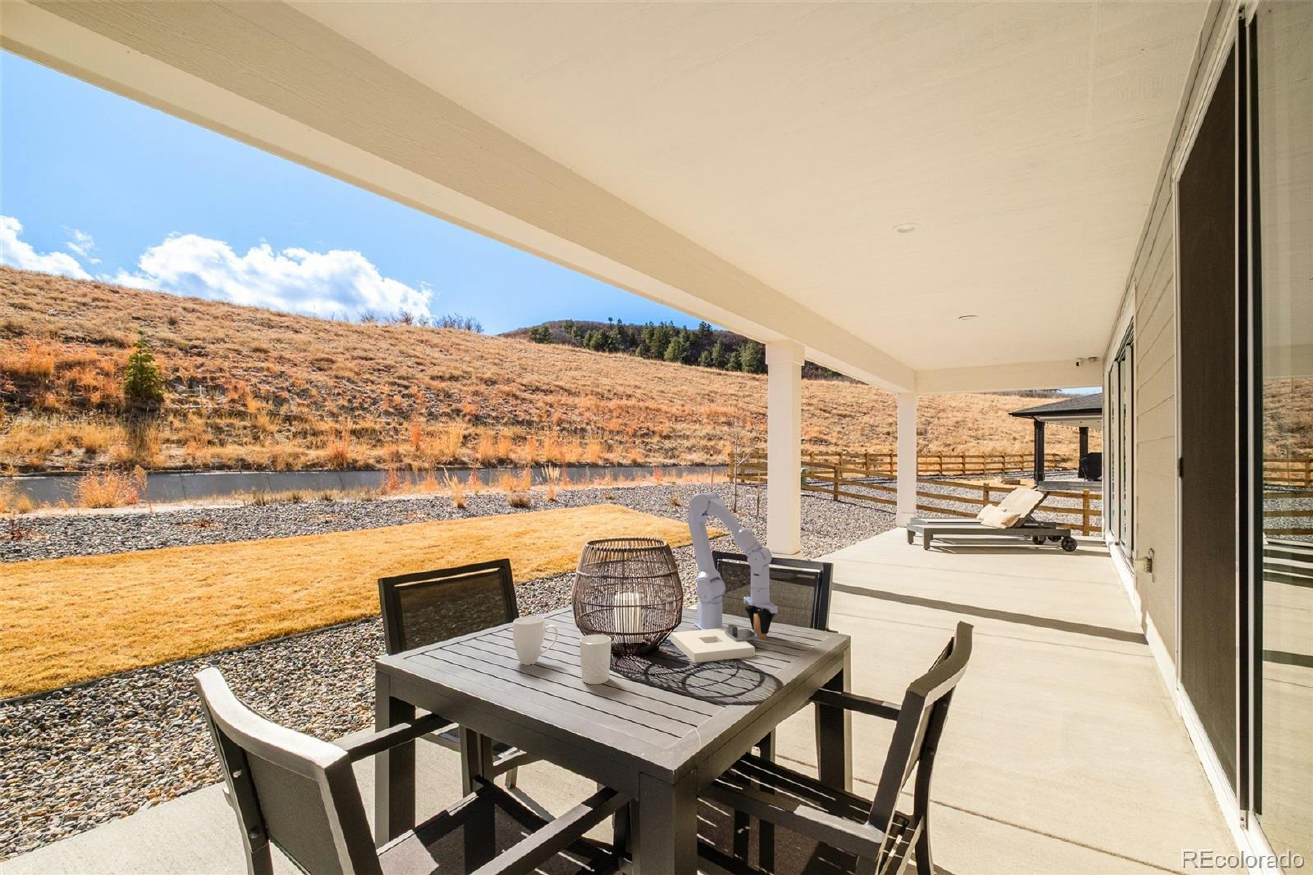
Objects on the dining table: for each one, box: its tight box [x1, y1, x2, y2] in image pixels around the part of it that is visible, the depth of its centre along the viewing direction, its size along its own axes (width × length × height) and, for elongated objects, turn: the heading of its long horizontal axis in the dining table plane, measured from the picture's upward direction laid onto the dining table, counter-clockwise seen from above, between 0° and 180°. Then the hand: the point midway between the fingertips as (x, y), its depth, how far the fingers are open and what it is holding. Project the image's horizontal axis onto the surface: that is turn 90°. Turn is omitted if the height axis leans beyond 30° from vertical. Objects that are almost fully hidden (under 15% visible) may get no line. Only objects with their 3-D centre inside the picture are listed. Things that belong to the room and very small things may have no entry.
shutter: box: [725, 624, 760, 641], centre depth 175 cm, size 8×8×3 cm
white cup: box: [579, 634, 612, 685], centre depth 148 cm, size 8×8×10 cm
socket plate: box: [670, 627, 756, 664], centre depth 172 cm, size 20×18×2 cm
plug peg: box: [753, 609, 768, 640], centre depth 184 cm, size 4×4×8 cm
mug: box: [512, 615, 559, 666], centre depth 160 cm, size 12×8×11 cm
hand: (760, 631), depth 184 cm, fingers closed on plug peg, 4 cm apart
